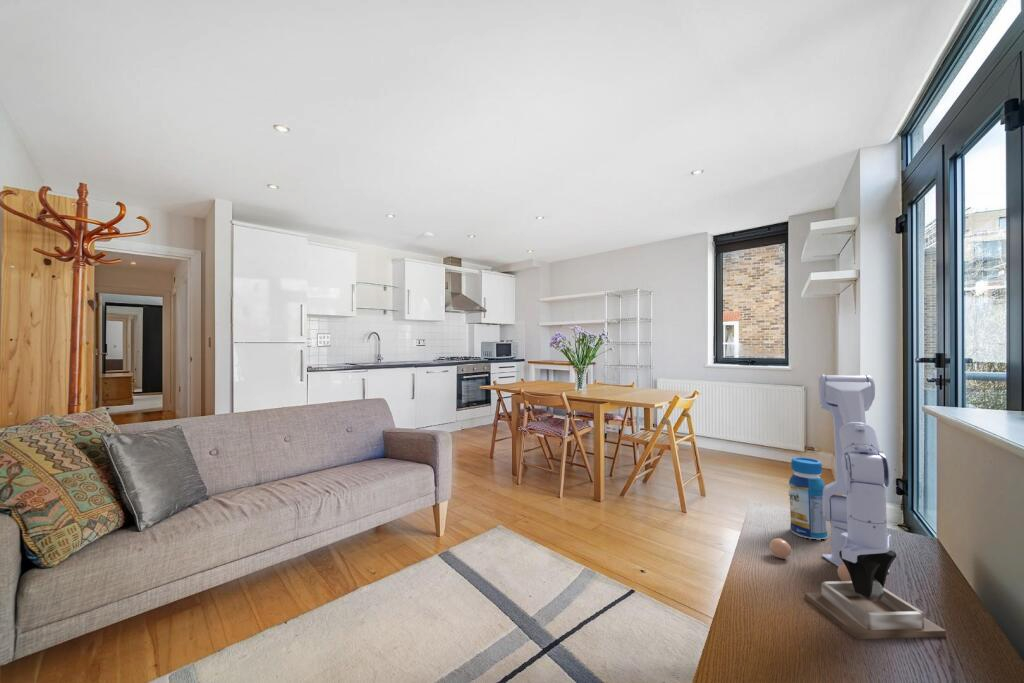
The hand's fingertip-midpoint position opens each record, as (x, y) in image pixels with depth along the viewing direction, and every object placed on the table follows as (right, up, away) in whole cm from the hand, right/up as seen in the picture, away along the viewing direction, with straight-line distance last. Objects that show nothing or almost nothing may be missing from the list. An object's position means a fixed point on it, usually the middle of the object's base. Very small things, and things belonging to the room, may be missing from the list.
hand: (869, 590), depth 77 cm
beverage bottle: (+13, -6, +34) cm, 37 cm away
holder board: (0, -5, 0) cm, 5 cm away
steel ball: (0, 0, 0) cm, 1 cm away
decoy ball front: (-2, -3, +22) cm, 22 cm away
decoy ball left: (+5, -3, +10) cm, 11 cm away
